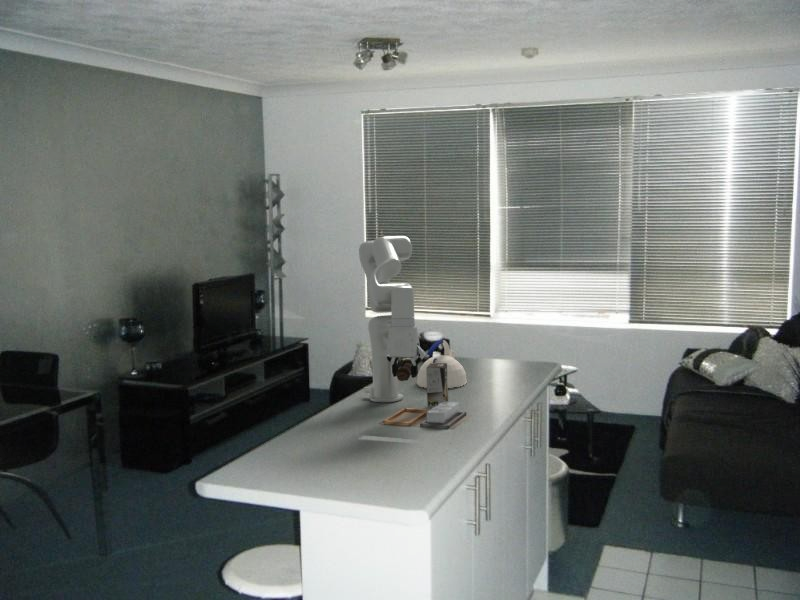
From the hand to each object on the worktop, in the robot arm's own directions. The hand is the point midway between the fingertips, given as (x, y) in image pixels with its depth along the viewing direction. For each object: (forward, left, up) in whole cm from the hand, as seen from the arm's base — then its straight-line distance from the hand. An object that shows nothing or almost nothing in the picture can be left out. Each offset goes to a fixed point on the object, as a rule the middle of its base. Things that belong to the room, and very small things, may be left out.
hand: (405, 375), depth 269 cm
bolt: (0, +1, -1) cm, 1 cm away
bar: (+13, 0, -14) cm, 19 cm away
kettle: (-9, +59, -16) cm, 62 cm away
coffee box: (+5, +17, -16) cm, 24 cm away
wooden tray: (+7, 0, -15) cm, 17 cm away
